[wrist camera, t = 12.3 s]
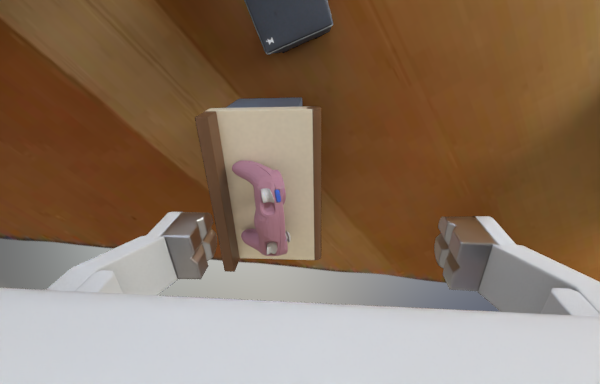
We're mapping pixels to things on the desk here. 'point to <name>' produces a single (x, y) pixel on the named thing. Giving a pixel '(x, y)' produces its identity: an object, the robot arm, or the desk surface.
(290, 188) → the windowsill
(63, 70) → the desk surface
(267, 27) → the small box
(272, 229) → the video game controller
